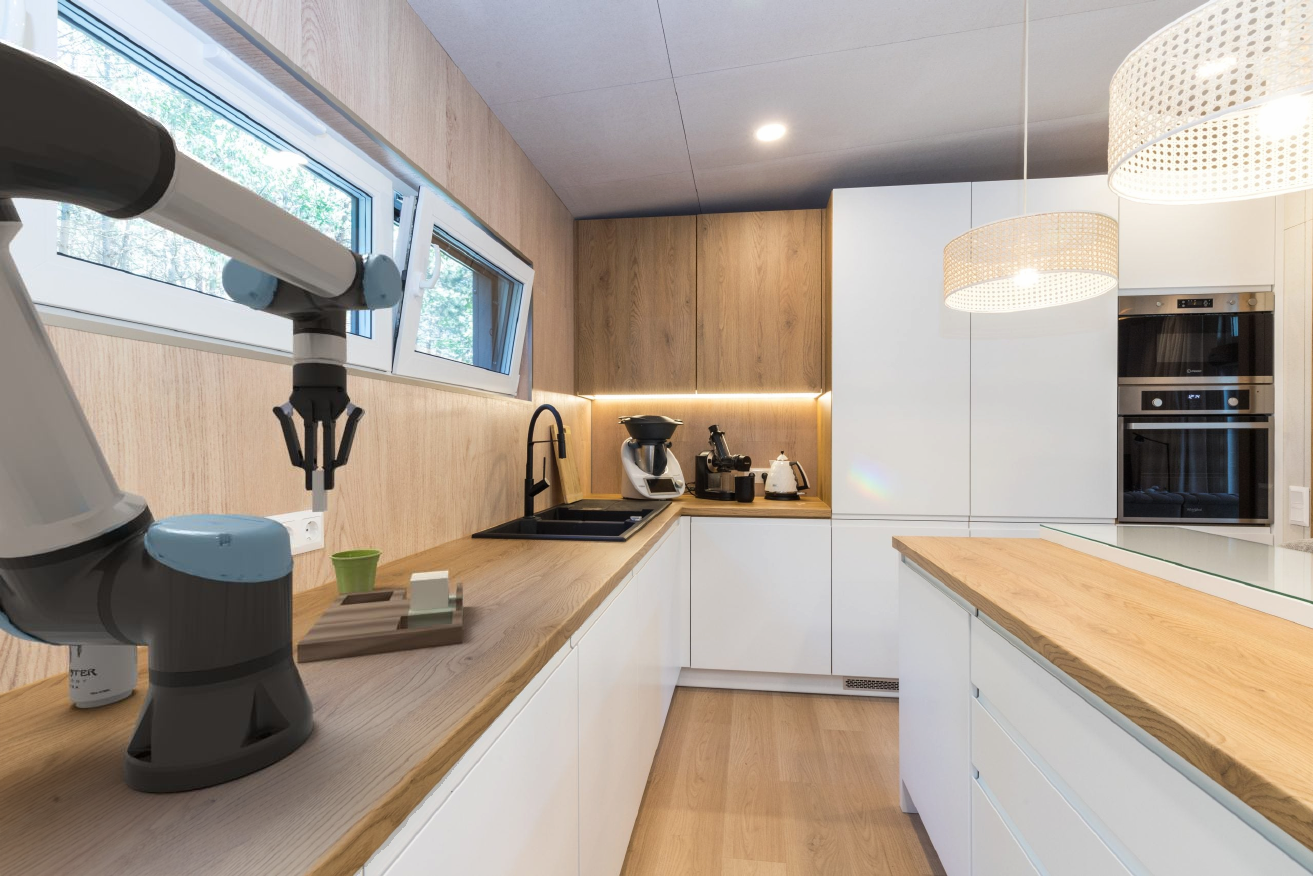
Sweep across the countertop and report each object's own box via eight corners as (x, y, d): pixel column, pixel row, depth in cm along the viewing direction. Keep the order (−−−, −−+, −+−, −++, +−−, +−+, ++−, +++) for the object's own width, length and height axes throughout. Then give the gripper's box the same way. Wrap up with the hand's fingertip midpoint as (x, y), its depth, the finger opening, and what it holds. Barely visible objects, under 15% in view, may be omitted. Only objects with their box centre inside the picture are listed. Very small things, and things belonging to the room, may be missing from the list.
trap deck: (462, 642, 87) (461, 613, 87) (297, 662, 80) (297, 630, 80) (463, 594, 115) (463, 572, 115) (340, 606, 108) (340, 582, 108)
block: (448, 606, 98) (447, 577, 98) (410, 610, 96) (409, 581, 96) (449, 597, 103) (448, 570, 103) (413, 601, 101) (412, 573, 101)
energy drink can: (59, 705, 68) (57, 580, 68) (122, 684, 74) (121, 569, 74) (84, 714, 66) (82, 584, 66) (148, 692, 71) (146, 573, 71)
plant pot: (374, 587, 122) (373, 547, 122) (388, 595, 115) (388, 552, 115) (325, 596, 116) (324, 553, 116) (337, 605, 109) (336, 560, 109)
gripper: (369, 369, 97) (369, 507, 97) (281, 366, 94) (281, 510, 93) (360, 362, 90) (360, 511, 89) (265, 359, 86) (264, 515, 86)
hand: (320, 510), depth 91 cm, fingers closed
